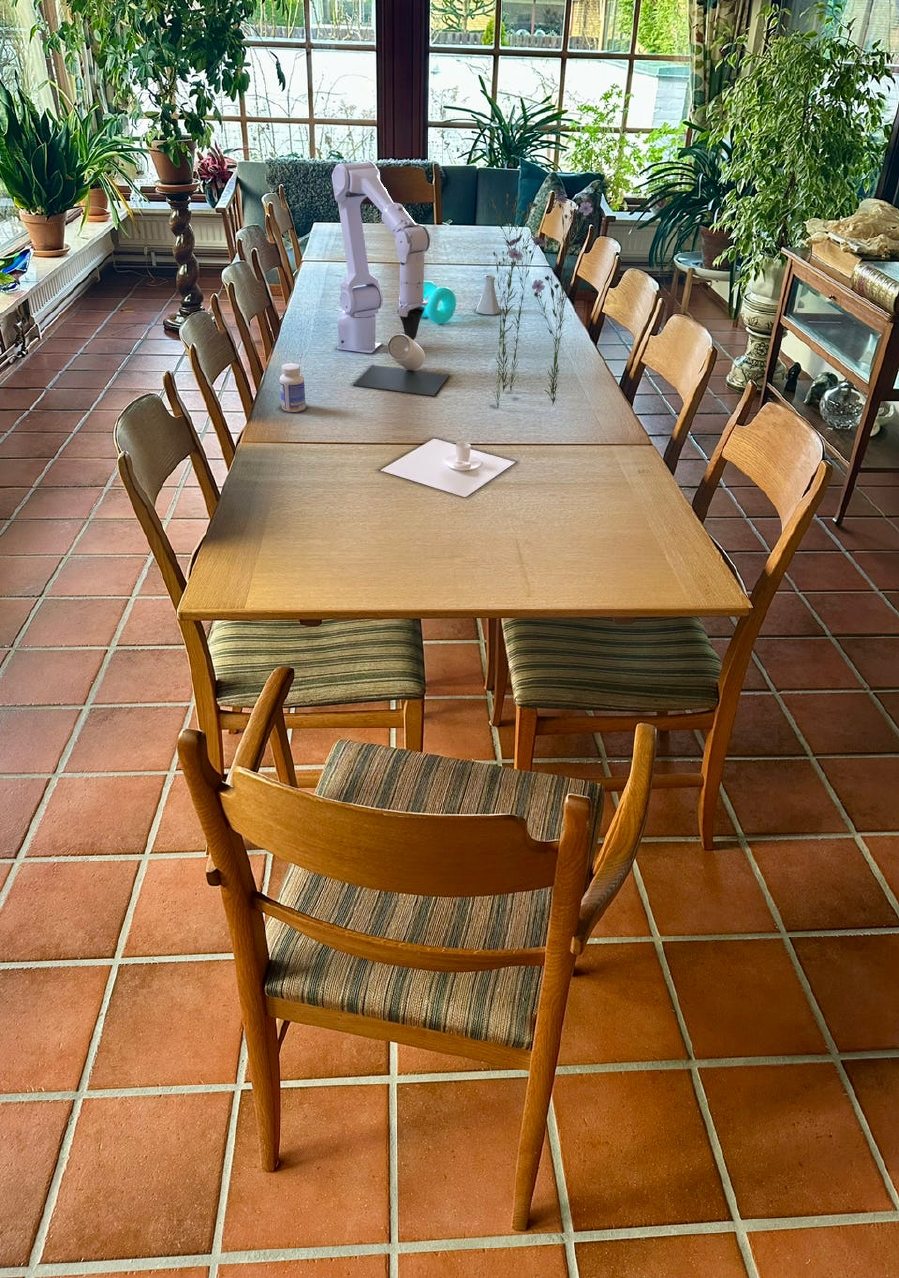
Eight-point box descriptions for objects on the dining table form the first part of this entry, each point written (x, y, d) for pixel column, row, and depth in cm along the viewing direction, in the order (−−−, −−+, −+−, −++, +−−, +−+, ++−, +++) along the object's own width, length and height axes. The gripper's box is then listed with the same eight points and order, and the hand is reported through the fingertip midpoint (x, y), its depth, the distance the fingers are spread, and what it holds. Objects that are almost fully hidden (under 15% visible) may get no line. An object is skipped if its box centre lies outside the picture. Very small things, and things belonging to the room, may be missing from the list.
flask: (472, 312, 288) (473, 277, 282) (480, 306, 294) (482, 271, 288) (495, 316, 286) (497, 281, 280) (503, 310, 292) (506, 275, 286)
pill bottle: (309, 405, 225) (307, 364, 219) (299, 414, 220) (296, 371, 215) (288, 402, 226) (285, 360, 220) (277, 410, 222) (274, 367, 216)
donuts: (430, 327, 275) (431, 290, 269) (407, 318, 281) (408, 282, 276) (457, 321, 281) (459, 285, 275) (434, 312, 287) (435, 277, 281)
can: (424, 371, 245) (410, 360, 234) (399, 370, 247) (384, 359, 235) (426, 344, 245) (412, 332, 233) (401, 343, 246) (386, 331, 235)
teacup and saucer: (467, 477, 197) (468, 458, 195) (433, 466, 200) (434, 448, 198) (489, 462, 203) (490, 443, 201) (456, 452, 207) (457, 434, 204)
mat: (353, 385, 236) (353, 384, 236) (372, 366, 248) (372, 365, 247) (433, 396, 232) (434, 395, 232) (449, 376, 244) (449, 375, 244)
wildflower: (463, 408, 227) (474, 198, 201) (496, 377, 244) (510, 180, 219) (557, 426, 220) (580, 211, 195) (584, 393, 238) (608, 191, 213)
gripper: (419, 290, 226) (418, 349, 234) (436, 275, 238) (434, 331, 246) (390, 287, 228) (389, 345, 235) (408, 271, 239) (407, 328, 247)
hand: (410, 338), depth 241 cm, fingers closed
